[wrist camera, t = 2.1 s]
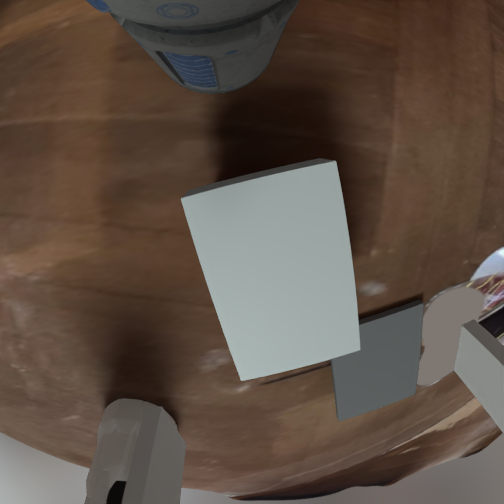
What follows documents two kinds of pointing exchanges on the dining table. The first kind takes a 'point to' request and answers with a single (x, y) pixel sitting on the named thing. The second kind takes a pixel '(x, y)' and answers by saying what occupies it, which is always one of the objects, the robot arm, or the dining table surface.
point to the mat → (380, 362)
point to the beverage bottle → (205, 37)
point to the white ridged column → (115, 446)
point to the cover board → (278, 265)
